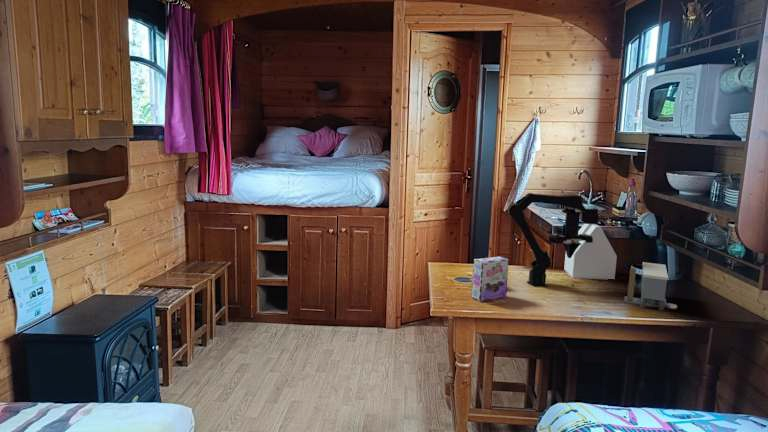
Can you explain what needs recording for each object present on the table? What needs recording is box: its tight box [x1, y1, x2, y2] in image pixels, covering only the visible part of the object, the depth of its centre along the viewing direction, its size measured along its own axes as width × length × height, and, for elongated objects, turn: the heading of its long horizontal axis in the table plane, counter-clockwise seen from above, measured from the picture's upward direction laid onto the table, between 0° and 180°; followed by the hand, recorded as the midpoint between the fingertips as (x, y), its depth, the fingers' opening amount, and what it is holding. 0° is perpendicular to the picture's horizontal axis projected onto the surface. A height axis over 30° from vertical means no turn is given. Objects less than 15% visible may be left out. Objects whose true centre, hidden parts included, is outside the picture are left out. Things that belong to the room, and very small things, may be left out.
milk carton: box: [563, 224, 618, 280], centre depth 251 cm, size 19×15×25 cm
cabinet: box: [639, 261, 669, 312], centre depth 213 cm, size 9×23×14 cm, turn 154°
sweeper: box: [623, 266, 667, 309], centre depth 211 cm, size 15×6×14 cm, turn 65°
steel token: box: [666, 302, 678, 310], centre depth 208 cm, size 4×4×1 cm
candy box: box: [470, 256, 510, 302], centre depth 212 cm, size 14×6×16 cm, turn 117°
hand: (569, 257), depth 230 cm, fingers closed
